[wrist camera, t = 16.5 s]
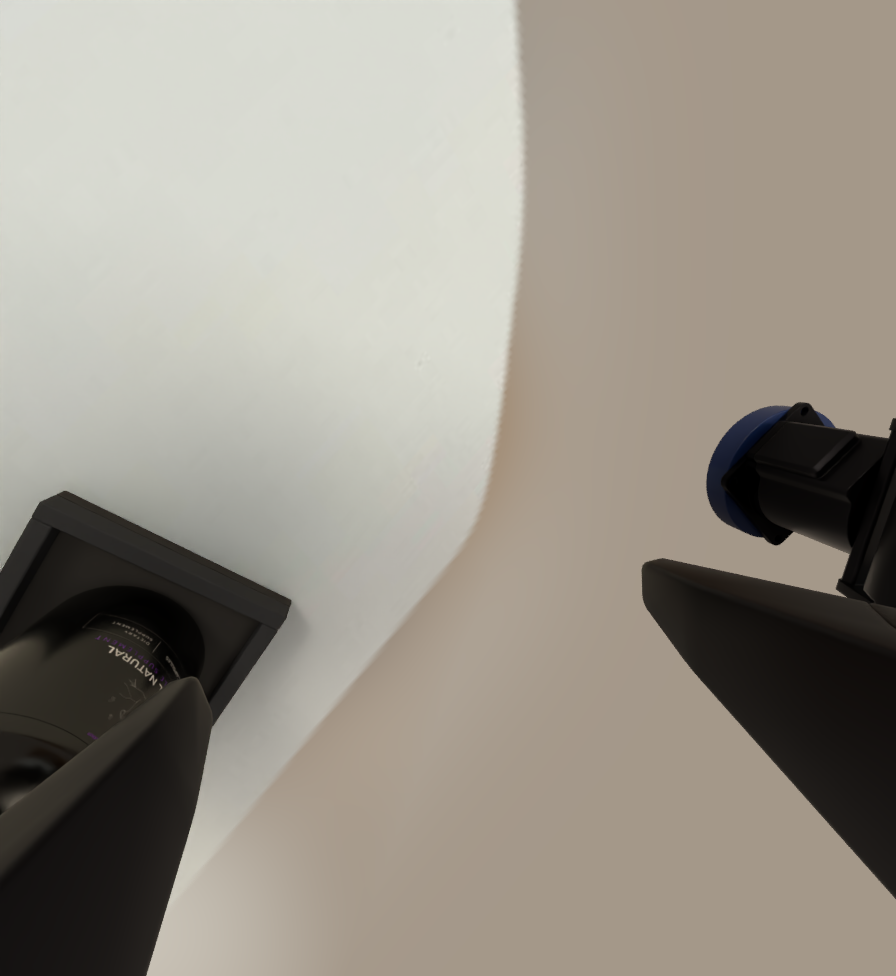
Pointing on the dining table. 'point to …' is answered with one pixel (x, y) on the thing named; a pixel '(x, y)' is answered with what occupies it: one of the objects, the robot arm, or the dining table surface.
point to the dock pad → (137, 585)
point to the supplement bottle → (86, 676)
